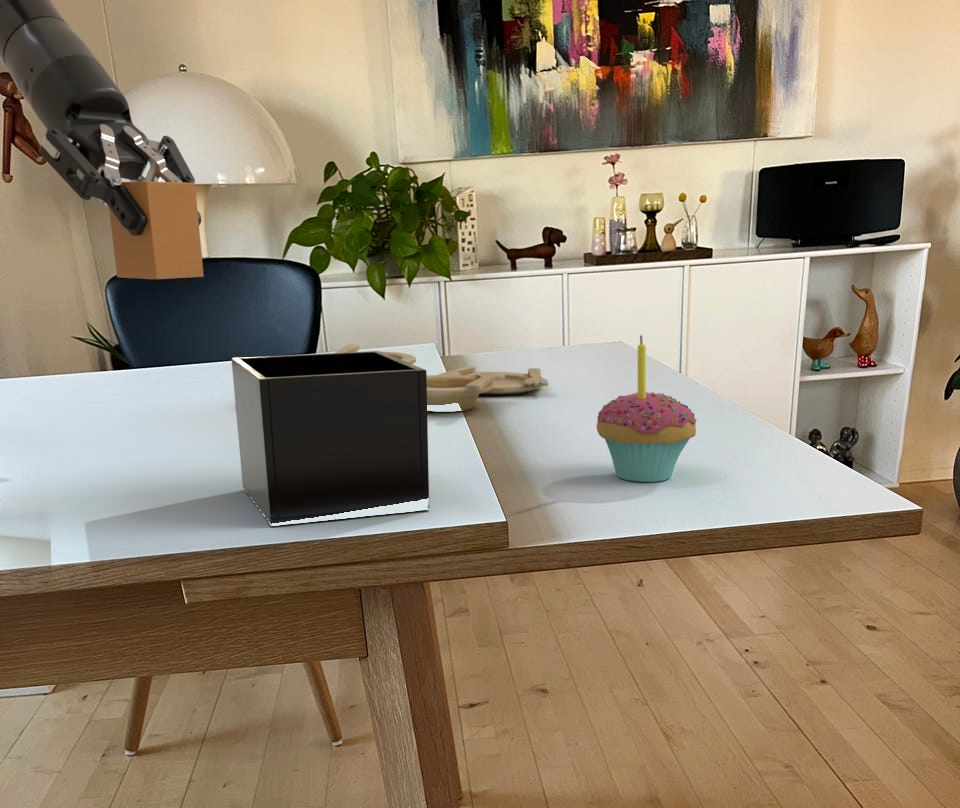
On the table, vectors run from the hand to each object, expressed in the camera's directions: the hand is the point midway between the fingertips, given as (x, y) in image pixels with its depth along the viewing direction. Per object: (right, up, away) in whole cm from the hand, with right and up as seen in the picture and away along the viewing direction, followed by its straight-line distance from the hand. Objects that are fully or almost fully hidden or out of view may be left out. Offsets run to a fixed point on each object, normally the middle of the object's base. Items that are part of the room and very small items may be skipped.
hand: (168, 227), depth 94 cm
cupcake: (+42, -23, -3) cm, 48 cm away
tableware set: (+19, -7, +37) cm, 42 cm away
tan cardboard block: (-1, -4, +3) cm, 5 cm away
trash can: (+16, -26, -11) cm, 32 cm away
